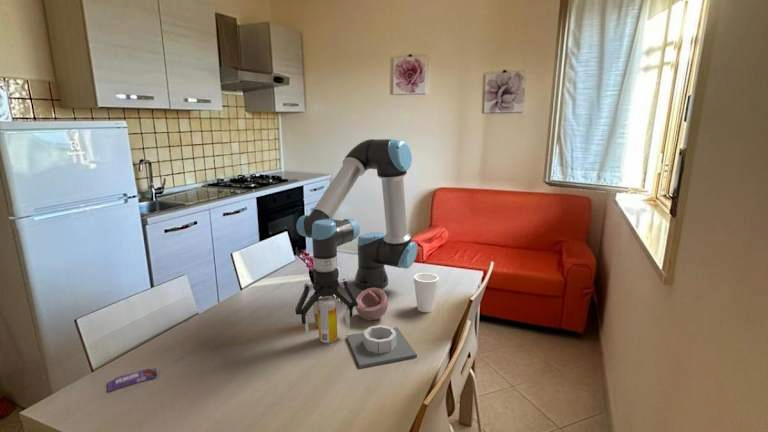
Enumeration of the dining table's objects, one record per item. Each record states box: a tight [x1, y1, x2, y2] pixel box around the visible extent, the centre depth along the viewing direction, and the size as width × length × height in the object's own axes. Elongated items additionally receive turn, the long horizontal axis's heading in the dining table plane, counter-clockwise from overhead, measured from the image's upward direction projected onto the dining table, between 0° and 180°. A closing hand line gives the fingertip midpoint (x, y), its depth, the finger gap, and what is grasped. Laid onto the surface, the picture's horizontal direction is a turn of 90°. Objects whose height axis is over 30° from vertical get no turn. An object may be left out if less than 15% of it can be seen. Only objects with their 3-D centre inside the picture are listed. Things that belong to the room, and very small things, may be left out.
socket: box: [346, 324, 418, 369], centre depth 128 cm, size 18×18×5 cm
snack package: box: [107, 367, 158, 392], centre depth 112 cm, size 12×2×5 cm
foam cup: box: [413, 272, 440, 313], centre depth 154 cm, size 10×9×13 cm
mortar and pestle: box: [355, 288, 389, 321], centre depth 147 cm, size 12×12×12 cm
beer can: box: [316, 294, 338, 344], centre depth 132 cm, size 6×6×15 cm
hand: (327, 329), depth 133 cm, fingers open, 13 cm apart
